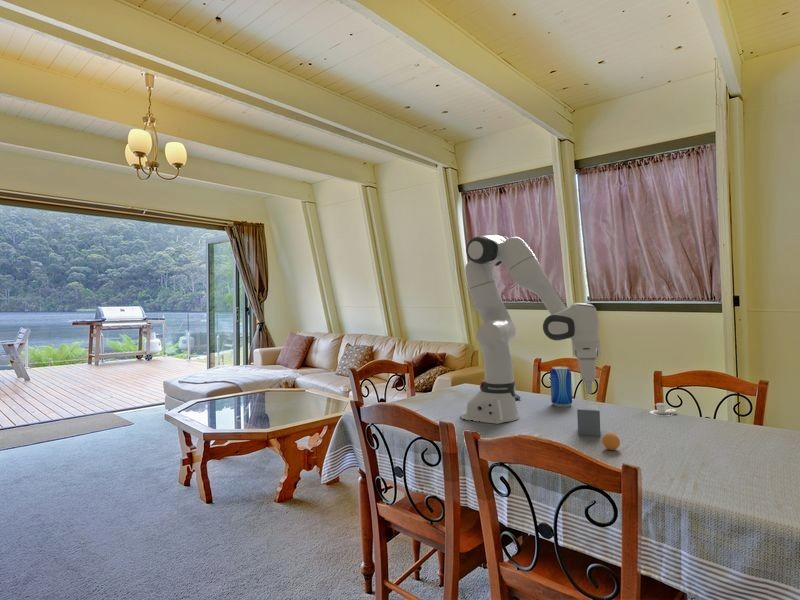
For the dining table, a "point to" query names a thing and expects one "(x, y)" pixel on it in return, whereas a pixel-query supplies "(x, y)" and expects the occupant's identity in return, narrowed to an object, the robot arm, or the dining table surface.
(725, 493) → the dining table surface
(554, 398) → the beer can
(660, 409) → the teacup and saucer
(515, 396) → the woven mat
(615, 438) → the ball
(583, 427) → the grey rectangular block
